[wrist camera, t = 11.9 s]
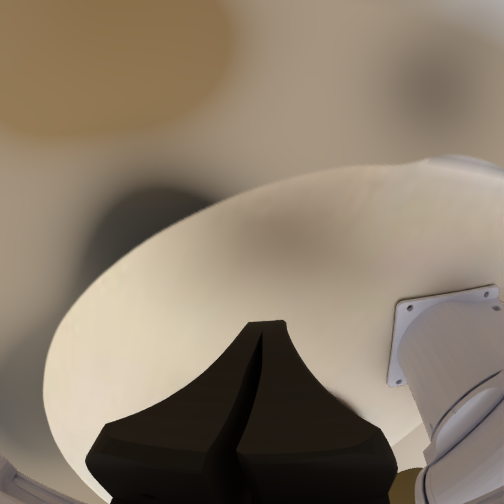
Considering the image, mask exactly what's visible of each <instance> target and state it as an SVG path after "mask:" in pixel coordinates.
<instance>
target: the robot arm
mask: <svg viewBox="0 0 504 504" xmlns="http://www.w3.org/2000/svg"><path fill="white" fill-rule="evenodd" d="M499 291H500V289H499V287H498V286H496V285H492V286H487V287H482V288H476V289H471V290H466V291H460V292H454V293H448V294H442V295H436V296H430V297H424V298H417V299H410V300H403V301H400V302H399V303H398V304H397V305H396V312H395V323H394V332H393V341H392V349H391V356H390V363H389V370H388V376H387V385H388V386H389V387H395V386H400V385H405V384H408V385H409V388H410V390H411V393H412V395H413V397H414V400H415V402H416V405H417V407H418V410H419V412H420V415H421V417H422V420H423V422H424V425H425V428H426V430H427V433H428V435H429V438H430V441H431V443H430V445H429V446H428V447H427V448H426V449H425V450H424V451H423V454H424V457H425V460H426V463H427V466H426V467H424V468H423V469H422V470H421V471H420V473H419V475H418V476H417V479H416V483H415V504H504V303H503V302H502V301H500V300H499V299H498V296H499ZM485 292H486V294H485ZM484 294H485V295H484ZM409 305H412V306H411V307H410V308H409V309H407V307H408V306H409ZM398 380H399V381H398ZM85 463H86V466H87V468H88V470H89V472H90V473H91V474H92V476H93V477H94V478H95V479H96V480H97V481H98V482H99V484H100V485H101V486H102V487H103V488H104V489H105V490H106V491H107V492H108V493H109V494H110V495H111V496H112V497H113V498H112V501H111V503H110V504H390V500H389V494H388V493H389V491H390V489H391V487H392V485H393V482H394V480H395V478H396V476H397V470H398V467H397V462H396V459H395V456H394V454H393V451H392V449H391V447H390V445H389V443H388V441H387V439H386V437H385V436H384V434H383V432H382V431H381V429H380V428H378V427H377V426H375V425H373V424H371V423H370V422H368V421H366V420H364V419H363V418H361V417H359V416H358V415H356V414H355V413H354V412H352V411H351V410H350V409H348V408H347V407H345V406H344V405H343V404H342V403H341V402H340V401H338V400H337V399H336V398H335V397H334V396H333V395H332V394H330V393H329V392H328V391H327V390H326V389H325V388H324V387H323V386H322V385H321V383H320V382H319V381H318V380H317V379H316V378H315V377H314V375H313V374H312V373H311V372H310V370H309V369H308V368H307V366H306V365H305V363H304V362H303V360H302V359H301V357H300V356H299V354H298V352H297V350H296V349H295V347H294V345H293V343H292V341H291V339H290V336H289V334H288V331H287V326H286V322H285V321H284V320H275V321H260V322H248V323H247V324H246V326H245V327H244V328H243V329H242V331H241V332H240V333H239V335H238V336H237V337H236V338H235V340H234V341H233V342H232V343H231V344H230V346H229V347H228V348H227V349H226V350H225V351H224V352H223V354H222V355H221V356H220V357H219V358H218V359H217V360H216V361H215V362H214V363H213V364H212V365H211V366H210V367H209V368H208V369H207V370H206V371H204V372H203V373H202V374H201V375H200V376H198V377H197V378H196V379H195V380H193V381H192V382H191V383H189V384H188V385H187V386H185V387H184V388H182V389H181V390H179V391H177V392H176V393H174V394H173V395H171V396H170V397H168V398H166V399H165V400H163V401H161V402H159V403H157V404H155V405H153V406H151V407H149V408H147V409H145V410H143V411H140V412H138V413H136V414H133V415H130V416H128V417H125V418H122V419H119V420H116V421H113V422H110V423H107V424H105V426H104V427H103V429H102V430H101V432H100V434H99V435H98V437H97V439H96V440H95V442H94V444H93V446H92V447H91V449H90V451H89V453H88V454H87V456H86V459H85ZM0 504H87V503H84V502H81V501H79V500H77V499H74V498H72V497H69V496H67V495H65V494H62V493H60V492H58V491H56V490H54V489H52V488H49V487H47V486H45V485H43V484H41V483H39V482H37V481H35V480H33V479H32V478H30V477H28V476H26V475H24V474H22V473H21V472H19V471H17V469H16V468H15V467H14V465H13V464H12V463H11V462H10V461H9V460H8V459H7V458H6V457H5V456H3V455H2V454H0Z"/></svg>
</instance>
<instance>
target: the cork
mask: <svg viewBox="0 0 504 504" xmlns="http://www.w3.org/2000/svg"><path fill="white" fill-rule="evenodd" d="M422 469H423V468H412V469H408V470H405V471H402V472H400V473H397V476H396V478H395V480H394V482H393V485H392V487H391V489H390V491H389V493H388V494H389V500H390V504H415V483H416V479H417V476H418V475H419V473H420V471H421V470H422Z"/></svg>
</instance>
